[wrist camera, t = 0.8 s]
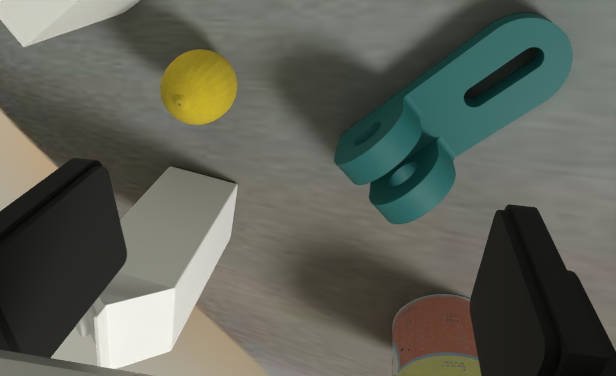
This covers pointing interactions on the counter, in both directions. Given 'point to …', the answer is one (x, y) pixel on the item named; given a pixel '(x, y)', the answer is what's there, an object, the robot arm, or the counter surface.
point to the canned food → (434, 338)
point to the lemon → (198, 87)
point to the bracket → (451, 114)
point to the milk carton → (161, 266)
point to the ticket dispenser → (55, 16)
